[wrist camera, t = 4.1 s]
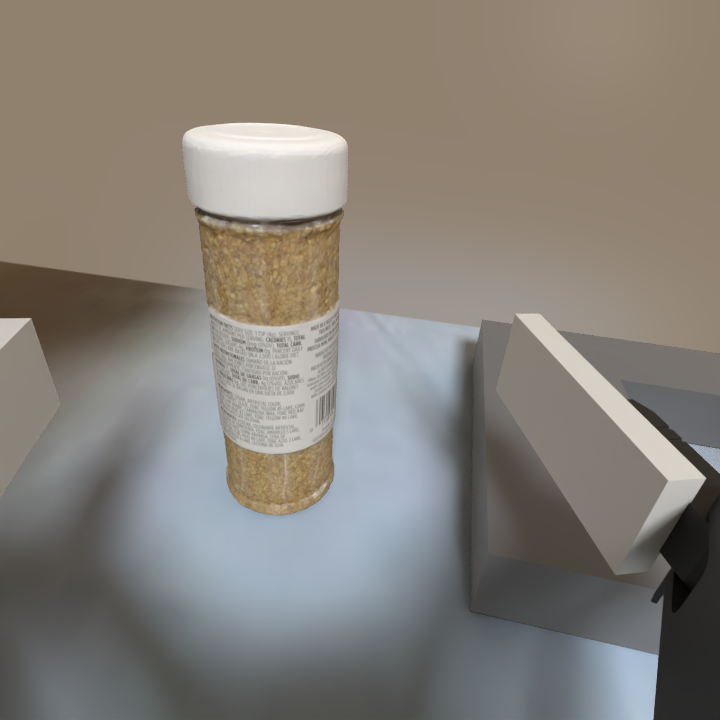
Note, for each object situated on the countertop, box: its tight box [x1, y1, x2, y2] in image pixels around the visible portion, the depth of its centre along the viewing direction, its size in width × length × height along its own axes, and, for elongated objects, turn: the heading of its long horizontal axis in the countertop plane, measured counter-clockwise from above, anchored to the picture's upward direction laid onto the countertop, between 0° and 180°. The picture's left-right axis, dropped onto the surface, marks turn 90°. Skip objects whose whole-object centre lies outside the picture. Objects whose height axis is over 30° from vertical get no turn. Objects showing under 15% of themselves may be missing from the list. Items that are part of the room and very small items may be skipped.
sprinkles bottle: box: [182, 123, 348, 515], centre depth 17 cm, size 5×5×14 cm
